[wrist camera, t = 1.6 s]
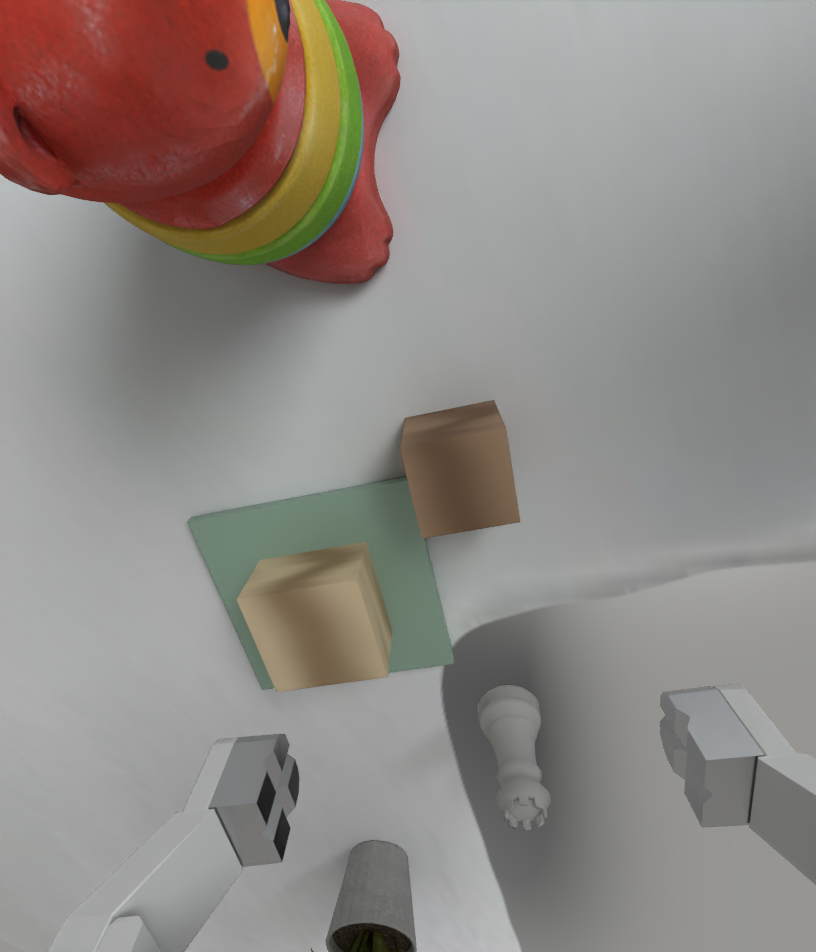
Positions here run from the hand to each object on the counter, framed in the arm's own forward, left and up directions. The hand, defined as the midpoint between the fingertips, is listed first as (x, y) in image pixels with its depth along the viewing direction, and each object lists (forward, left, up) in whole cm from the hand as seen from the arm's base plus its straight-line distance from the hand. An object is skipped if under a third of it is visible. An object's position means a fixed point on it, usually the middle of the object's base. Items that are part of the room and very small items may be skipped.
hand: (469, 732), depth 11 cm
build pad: (+10, +9, -19) cm, 23 cm away
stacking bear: (+5, -15, -19) cm, 25 cm away
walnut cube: (0, +1, -19) cm, 19 cm away
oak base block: (+10, +9, -19) cm, 23 cm away
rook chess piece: (0, +21, -19) cm, 28 cm away
